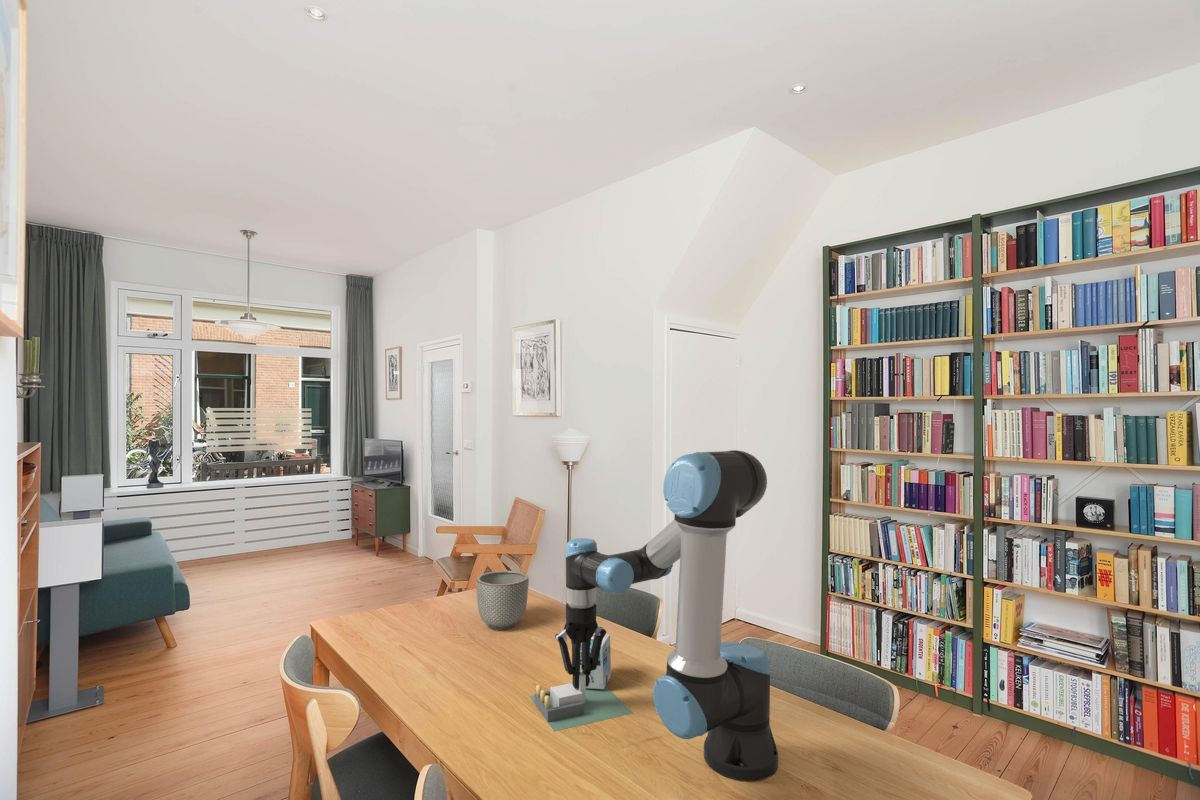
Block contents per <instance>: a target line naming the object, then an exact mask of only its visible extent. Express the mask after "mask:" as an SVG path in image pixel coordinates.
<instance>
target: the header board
mask: <svg viewBox="0 0 1200 800" xmlns="http://www.w3.org/2000/svg"><path fill="white" fill-rule="evenodd" d="M528 697H529V698H530V700H531V701H532V703H533V704H534V706H535V707H536V708H537V710H538V711H539V712H540V714H541V715H542V716H543V718H544V719H545V722H547V724H548V725H549V727H550V728H551V729H552V730H553V732H559V731H562V730H568V729H571V728H577V727H579V726H585V725H588V724H592V723H593V724H594V723H597V722H602V721H605V720H606V721H607V720H611V719H615V718H618V717H623V716H626V715H632V714H634V712H633V711H632V710H631V709H630V708H629V707H628V706H627V705H626V704H625V703H624V702H623V701H622V700H621V699H620V698H619V697H618V696H617V695H616V694H615V693H614V692H613V691H612V690H611V689H610V688H609V687H608V686H607V685H606V686H605V688H604V689H589V688H586V702H584V703H583V702H579V703H574V704H569V705H565V706H560V707H555V708H553V707H552V705H551V704H550V690H544V689H543V690H542V685H541V684H536V693H534V695H529V696H528Z"/></svg>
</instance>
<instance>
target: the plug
mask: <svg viewBox="0 0 1200 800" xmlns="http://www.w3.org/2000/svg"><path fill="white" fill-rule="evenodd" d="M549 691H550V704H551V705H552V707H553V708H555V707H560V706H565V705H569V704H574V703H579V702H582V692H581V691H580V690H579V689H578V688H577V689H575V688H574V687H573V685H572V682H571V683H570V682H569V683H565V684H561V685H556V686H550V690H549Z"/></svg>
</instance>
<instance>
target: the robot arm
mask: <svg viewBox="0 0 1200 800" xmlns="http://www.w3.org/2000/svg"><path fill="white" fill-rule="evenodd" d="M767 484H768V477H767V473H766V470H765V468H764V466H763V464H762V462H761V461H760V460H759V459H758V458H757V457H755V456H754V455H752V454H750V453H749V452H746V451H743V450H736V449H734V450H732V449H731V450H723V451H720V450H719V451H696V452H693V453H688V454H684V455H681V456H679V457H677V458H676V459H675V460H674V462H672V463H671V464H670V466H669V467H668V469H667V471H666V473H665V475H664V479H663V488H662V490H663V491H662V492H663V499H664V501H666V502H667V504H666V506H667V507H668V509H669V510H670V511H671V512H672V513H673V514H674V519H673V520H672V521H671V522H670V523H668V525H667V526H665V527H664V528H663V529H662V530H661V531H660V532H659V533H658V534H656V535H655V536H654V537H653V538H651V540H649V541H648V542H647V543H646V544H645V545H643V546H642V547H641V548H639V549H635V550H631V551H625V552H620V553H614V554H604V553H601V552H598V546H597V541H596V540H595V539H592V538H585V537H584V538H581V537H579V538H573V539H570V540H568V541H567V543H566V552H565V553H566V554H565V602H566V604H565V624H564V627H563V630H562V631H561V632H560V633H556V634H555V636H554V638H555V640H556V641H557V643H558V645H559V649H560V653H561V658H562V663H563V667H564V670H565V672H567V674H568V675H570V676H571V675H572V678H571V679H572V681H571V683H572V685H573V687H574V688H575V689H577V688H578V689H579V690H580V691H581V692H582V702H583V703H584V702H586V687H587V686H588V685H589V675H590V674H591V672H590V671H592V670H596V668H597V663H598V658H599V654H600V649H601V645H602V640H603V638H604V636H605V635H607V630H606V629H605V628H603V627H602V626H599V624H598V622H597V604H596V603H597V598H598V597H597V596H598V595H597V588H600V589H602V591H605V592H608V593H612V594H619V595H620V594H623V593H625V592H626V591H627V590H628V589H630V587H631V586H632V585H635V584H638V583H642V582H647V581H651V580H652V581H653V580H658V579H661V578H663V577H666V576H668V575H670V573H671V572H672V569H673V567H674V564H675V563H676V562H677V561H678V560H679V573H678V593H677V597H678V598H677V611H676V612H677V613H676V615H677V616H676V628H675V629H676V630H675V631H676V632H675V634H676V635H675V649H673V650H672V651H670V652H669V653H668V655H667V657H666V671H665V672H666V673H665V675H661V676H660V677H659V678H658V679H657V680H655V682H654V685H653V686H652V687H653V688H652V699H653V704H654V708H655V710H656V711H655V712H656V713H657V715H658V716H659V718H660V721H661V722H662V724H663V725H664V726H665V728H666V729H667V730H668V731H669V732H670V733H671V734H673V735H674V736H675V737H677V738H680V739H681V740H692V739H694V738H696V737H703V736H704V735H705V734H706V733H707V735H706V737H705V740H704V743H703V758H704V761H705V763H706V764H707V765H708V767H709V768H711V770H712V771H714V772H715V773H718V774H719V775H721V776H723V777H726V778H728V779H729V778H730V779H731V780H732V779H734V780H737V781H746V782H749V781H750V782H752V781H753V782H755V781H761V780H765V779H768V778H770V777H771V776H773V775H774V774H775V773H777V771H778V769H779V752H778V751H779V750H778V747H777V744H776V740H775V739H774V735H773V733H772V729H771V725H770V724H771V722H770V715H771V711H770V709H771V706H770V704H771V703H770V702H771V694H770V693H771V675H772V673H771V669H770V668H771V667H770V658H769V657H768V655H767V653H766V652H765V651H764V650H761V649H760V648H758V647H755V646H753V645H750V644H746V643H741V642H736V641H735V642H734V641H722V629H723V628H722V625H723V609H724V608H723V607H724V591H725V590H724V589H725V575H726V574H725V573H726V555H727V554H726V552H727V539H728V538H727V536H728V535H727V534H729V532H730V531H732V530H733V529H734V528H735V527H736V522H737V521H736V519H738V518H740V517H742V516H744V515H745V514H746V513H747V512H748V511H750V510H751V509H752V508H753V507H755V506H756V505H758V503H760V502H761V500H762V499H763V497H764V495H765V493H766V490H767V487H768V485H767ZM593 635H595V636H594V640H593V644H592V649H591V653H590V646H591V638H592V636H593ZM567 637H568V638H569V639H570V643H571V656H570V652H569V648H568V644H567V641H568V639H567ZM581 643H582V660H581V668H582V671H580V648H581Z"/></svg>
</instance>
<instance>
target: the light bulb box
mask: <svg viewBox="0 0 1200 800" xmlns="http://www.w3.org/2000/svg"><path fill="white" fill-rule="evenodd" d="M594 636H595V634H593V636H592V638H591V646H590V653H591V649H592V644H593V640H594ZM611 652H612V651H611V637H610V634H605V636H604V638H603V640H602V645H601V649H600V654H599V658H598V663H597V668H596V670H592V671H590V672H591V674H590V675H589V685H588V686H587V687H586V688H589V689H604V688H605V686H607V685H608V682H609V681H610V679H611V677H612V662H611V661H612V658H611ZM581 660H582V643H581V648H580V671H582V668H581Z"/></svg>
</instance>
